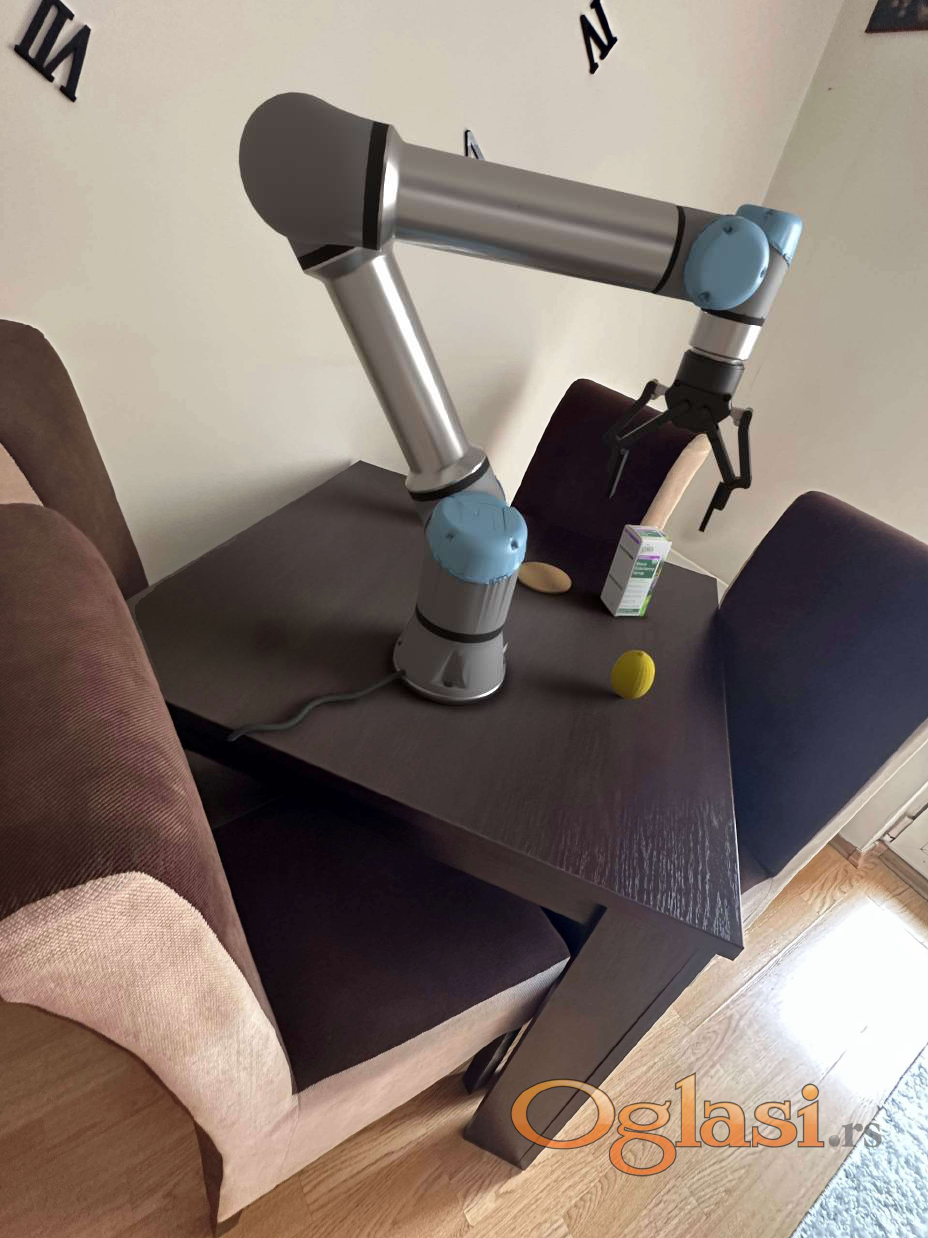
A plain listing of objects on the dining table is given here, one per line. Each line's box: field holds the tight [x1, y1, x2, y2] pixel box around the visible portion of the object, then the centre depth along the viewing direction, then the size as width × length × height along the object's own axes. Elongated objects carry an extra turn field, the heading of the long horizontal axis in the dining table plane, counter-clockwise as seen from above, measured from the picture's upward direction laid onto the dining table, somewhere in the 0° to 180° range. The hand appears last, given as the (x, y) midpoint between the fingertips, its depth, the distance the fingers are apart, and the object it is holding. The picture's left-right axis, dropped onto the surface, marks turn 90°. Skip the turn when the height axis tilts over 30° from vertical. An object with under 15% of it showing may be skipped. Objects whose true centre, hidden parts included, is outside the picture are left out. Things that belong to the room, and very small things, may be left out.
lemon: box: [610, 649, 656, 700], centre depth 88 cm, size 6×6×8 cm
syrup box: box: [600, 524, 673, 617], centre depth 107 cm, size 6×6×14 cm
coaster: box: [517, 561, 572, 595], centre depth 115 cm, size 10×10×1 cm
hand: (654, 511), depth 91 cm, fingers open, 13 cm apart
